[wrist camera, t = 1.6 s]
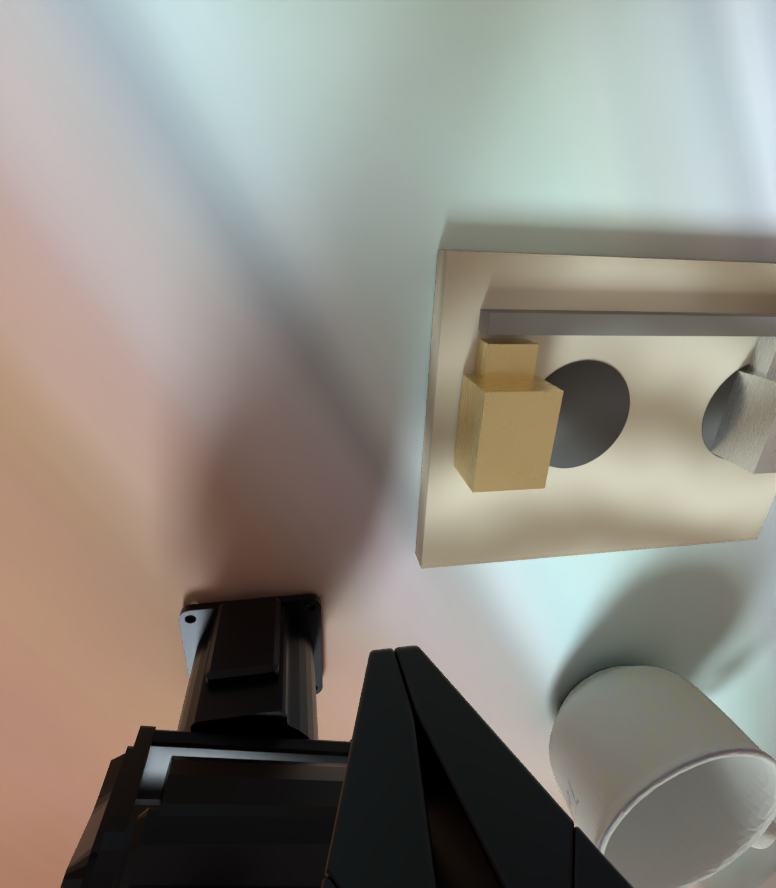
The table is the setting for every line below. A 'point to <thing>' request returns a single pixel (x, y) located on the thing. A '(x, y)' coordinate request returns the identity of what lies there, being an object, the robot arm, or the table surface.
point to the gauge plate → (598, 403)
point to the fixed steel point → (751, 414)
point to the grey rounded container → (660, 776)
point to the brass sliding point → (506, 419)
